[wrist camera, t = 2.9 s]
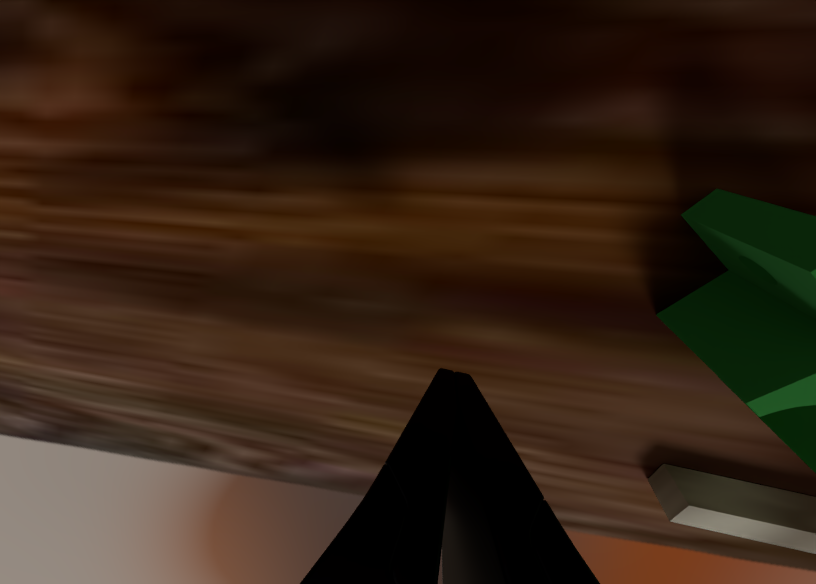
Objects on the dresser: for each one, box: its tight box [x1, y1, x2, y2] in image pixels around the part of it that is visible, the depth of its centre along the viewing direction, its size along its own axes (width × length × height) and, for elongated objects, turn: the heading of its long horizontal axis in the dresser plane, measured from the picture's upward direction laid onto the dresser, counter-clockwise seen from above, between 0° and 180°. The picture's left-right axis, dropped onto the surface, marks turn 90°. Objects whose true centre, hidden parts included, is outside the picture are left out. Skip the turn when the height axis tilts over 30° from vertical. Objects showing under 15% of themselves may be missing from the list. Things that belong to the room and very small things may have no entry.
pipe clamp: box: [656, 189, 816, 473], centre depth 10 cm, size 11×4×5 cm, turn 50°
